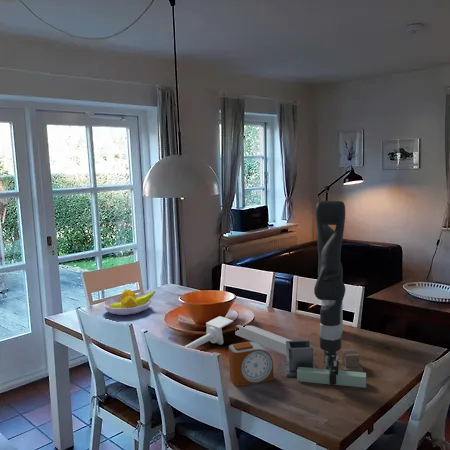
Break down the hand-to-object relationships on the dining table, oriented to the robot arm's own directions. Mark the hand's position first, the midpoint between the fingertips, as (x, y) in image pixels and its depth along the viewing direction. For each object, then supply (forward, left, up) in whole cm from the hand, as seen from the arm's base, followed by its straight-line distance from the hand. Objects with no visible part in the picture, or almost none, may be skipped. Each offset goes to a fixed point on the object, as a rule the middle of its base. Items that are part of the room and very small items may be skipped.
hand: (331, 380), depth 167 cm
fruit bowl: (-92, -91, -1) cm, 129 cm away
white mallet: (-36, -49, -1) cm, 61 cm away
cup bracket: (-11, -10, -1) cm, 15 cm away
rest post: (-11, +10, -1) cm, 15 cm away
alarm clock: (-5, -29, -1) cm, 29 cm away
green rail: (0, 0, -1) cm, 1 cm away
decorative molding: (-40, -19, -2) cm, 44 cm away
